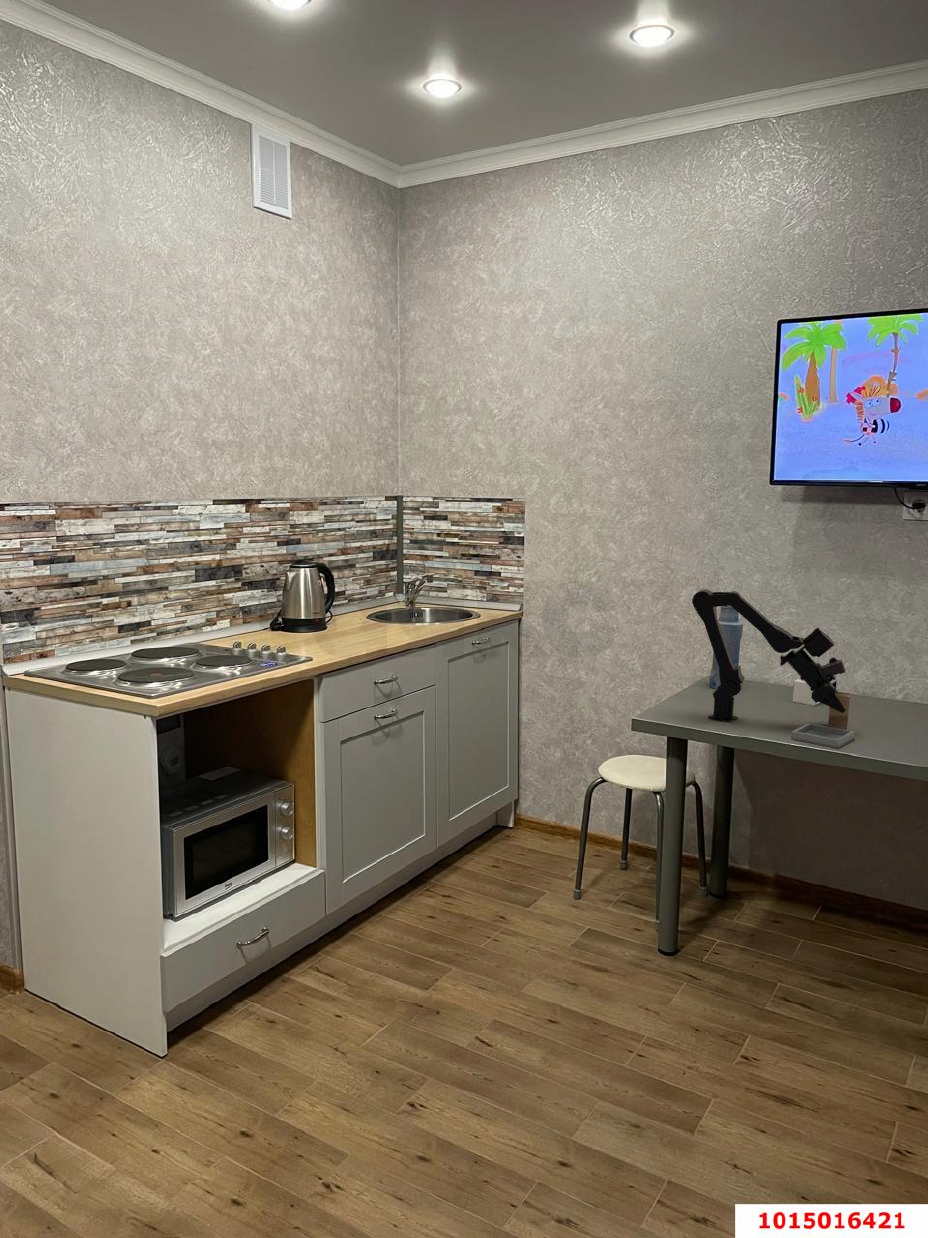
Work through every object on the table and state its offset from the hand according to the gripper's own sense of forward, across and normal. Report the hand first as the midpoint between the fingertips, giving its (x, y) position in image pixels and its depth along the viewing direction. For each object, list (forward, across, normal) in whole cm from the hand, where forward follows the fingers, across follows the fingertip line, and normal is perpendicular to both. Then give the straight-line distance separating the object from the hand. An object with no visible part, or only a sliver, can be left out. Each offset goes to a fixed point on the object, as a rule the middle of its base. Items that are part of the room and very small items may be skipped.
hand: (844, 709), depth 262 cm
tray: (+1, -10, +8) cm, 13 cm away
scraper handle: (+4, 0, +6) cm, 7 cm away
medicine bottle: (-3, +35, +13) cm, 37 cm away
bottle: (-23, +44, +32) cm, 59 cm away
